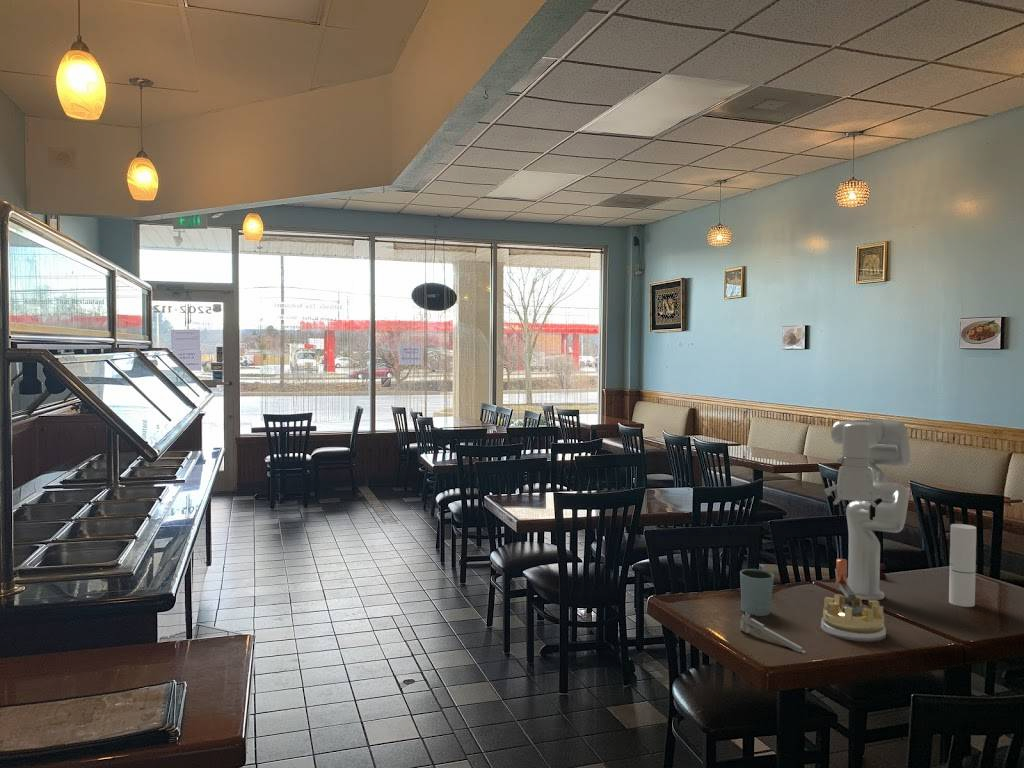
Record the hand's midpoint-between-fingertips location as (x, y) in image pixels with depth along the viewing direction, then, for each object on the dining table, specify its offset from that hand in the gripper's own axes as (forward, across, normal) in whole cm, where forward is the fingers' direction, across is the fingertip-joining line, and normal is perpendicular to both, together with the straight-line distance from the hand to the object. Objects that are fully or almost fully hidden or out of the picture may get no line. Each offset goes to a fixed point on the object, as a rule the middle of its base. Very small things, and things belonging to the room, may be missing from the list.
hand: (854, 518), depth 232 cm
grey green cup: (+30, -28, -10) cm, 42 cm away
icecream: (+28, +10, +47) cm, 56 cm away
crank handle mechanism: (+27, -2, -14) cm, 31 cm away
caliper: (+31, -24, -35) cm, 52 cm away
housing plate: (+30, -1, -18) cm, 35 cm away
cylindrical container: (+29, +34, +21) cm, 50 cm away
